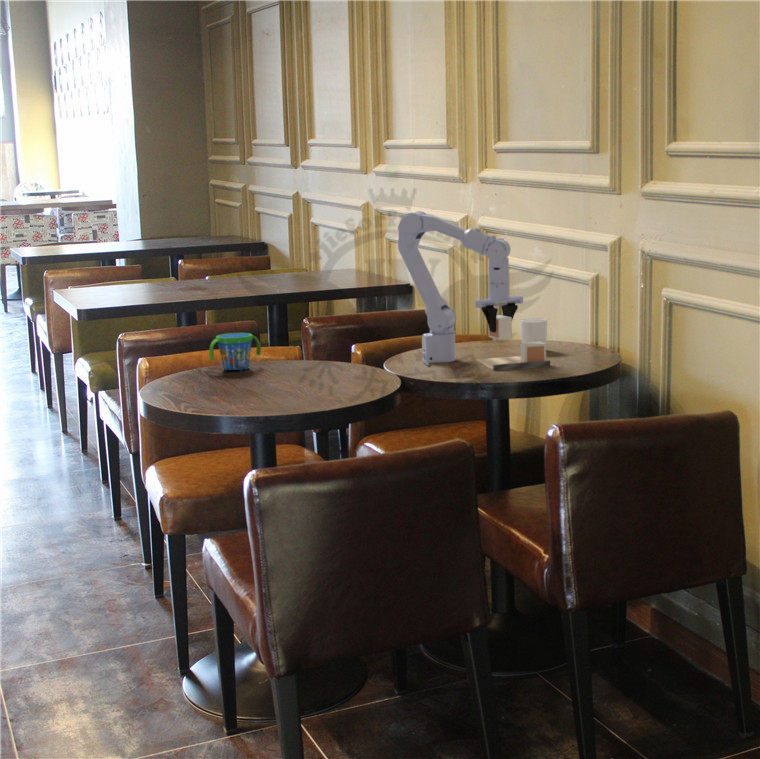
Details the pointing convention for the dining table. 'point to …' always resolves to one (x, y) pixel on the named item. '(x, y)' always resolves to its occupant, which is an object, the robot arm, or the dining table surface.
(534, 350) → the faced carton
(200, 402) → the dining table surface
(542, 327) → the white cup
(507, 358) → the shelf board
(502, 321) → the carton
